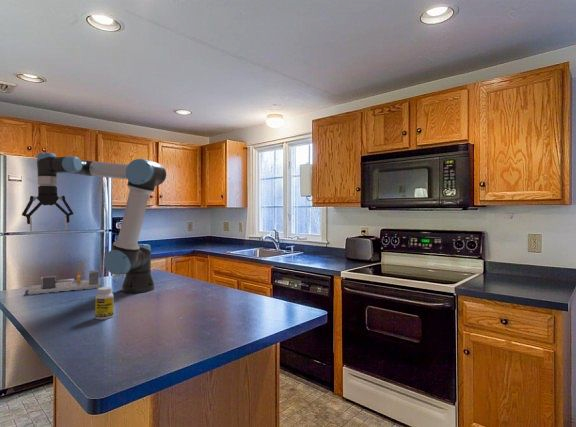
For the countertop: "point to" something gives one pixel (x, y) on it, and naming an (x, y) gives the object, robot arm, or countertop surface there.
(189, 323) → the countertop surface
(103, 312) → the pill bottle
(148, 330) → the countertop surface
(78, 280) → the orange peg piece
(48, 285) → the grey block with rod
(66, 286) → the gauge board
